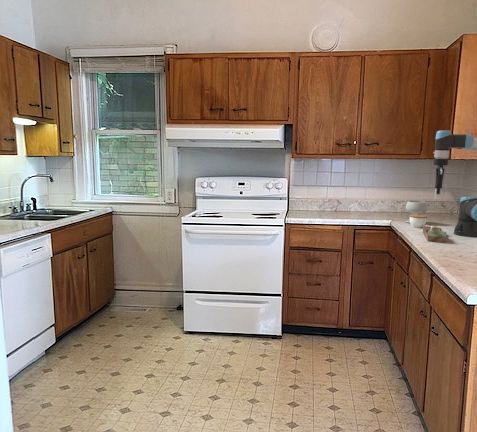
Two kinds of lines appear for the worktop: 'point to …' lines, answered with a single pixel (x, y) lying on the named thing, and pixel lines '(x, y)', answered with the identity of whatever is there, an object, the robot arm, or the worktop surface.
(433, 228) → the birch block
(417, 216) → the lidded jar
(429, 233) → the two-trap track
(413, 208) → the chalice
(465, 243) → the worktop surface
